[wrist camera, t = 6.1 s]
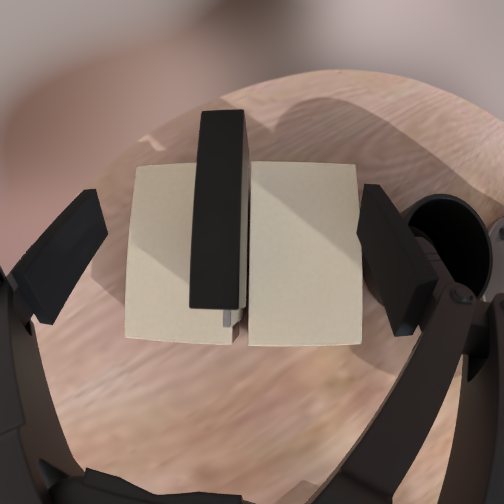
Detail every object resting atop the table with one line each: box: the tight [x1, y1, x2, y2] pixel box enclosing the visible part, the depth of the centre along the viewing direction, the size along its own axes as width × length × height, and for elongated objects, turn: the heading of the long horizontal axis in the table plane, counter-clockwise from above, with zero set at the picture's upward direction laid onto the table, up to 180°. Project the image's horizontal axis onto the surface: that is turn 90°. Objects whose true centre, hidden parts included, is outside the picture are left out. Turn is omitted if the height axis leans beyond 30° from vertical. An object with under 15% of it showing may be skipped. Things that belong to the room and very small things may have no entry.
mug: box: [364, 194, 493, 306], centre depth 24 cm, size 9×12×9 cm
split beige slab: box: [125, 161, 362, 346], centre depth 26 cm, size 18×14×7 cm
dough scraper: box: [189, 109, 249, 328], centre depth 17 cm, size 2×10×12 cm, turn 179°
